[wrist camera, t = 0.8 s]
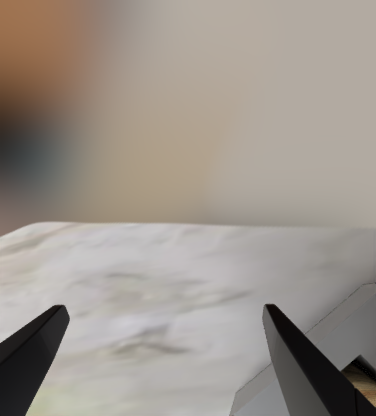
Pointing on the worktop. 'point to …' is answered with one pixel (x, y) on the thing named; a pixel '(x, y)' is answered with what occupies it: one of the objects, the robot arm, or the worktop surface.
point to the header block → (328, 344)
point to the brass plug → (361, 382)
